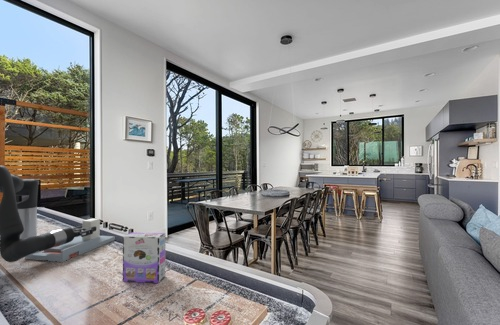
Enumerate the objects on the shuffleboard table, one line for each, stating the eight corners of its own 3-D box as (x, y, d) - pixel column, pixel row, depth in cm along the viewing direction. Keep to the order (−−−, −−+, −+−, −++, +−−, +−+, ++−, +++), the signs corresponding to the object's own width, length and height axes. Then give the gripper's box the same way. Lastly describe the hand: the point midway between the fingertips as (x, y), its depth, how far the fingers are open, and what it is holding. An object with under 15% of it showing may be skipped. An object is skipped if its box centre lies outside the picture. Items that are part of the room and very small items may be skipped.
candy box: (165, 276, 89) (166, 232, 89) (158, 284, 83) (158, 237, 83) (131, 274, 90) (132, 231, 90) (121, 281, 84) (122, 235, 84)
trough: (62, 262, 100) (62, 250, 100) (25, 258, 104) (25, 247, 104) (114, 240, 130) (114, 231, 130) (84, 237, 133) (84, 229, 133)
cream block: (90, 240, 123) (90, 221, 123) (82, 239, 124) (82, 220, 124) (99, 237, 129) (99, 218, 129) (91, 236, 130) (91, 218, 130)
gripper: (72, 230, 108) (100, 221, 124) (46, 228, 110) (77, 220, 126) (72, 246, 108) (100, 235, 124) (46, 244, 110) (77, 234, 126)
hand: (88, 227), depth 125 cm, fingers open, 8 cm apart
